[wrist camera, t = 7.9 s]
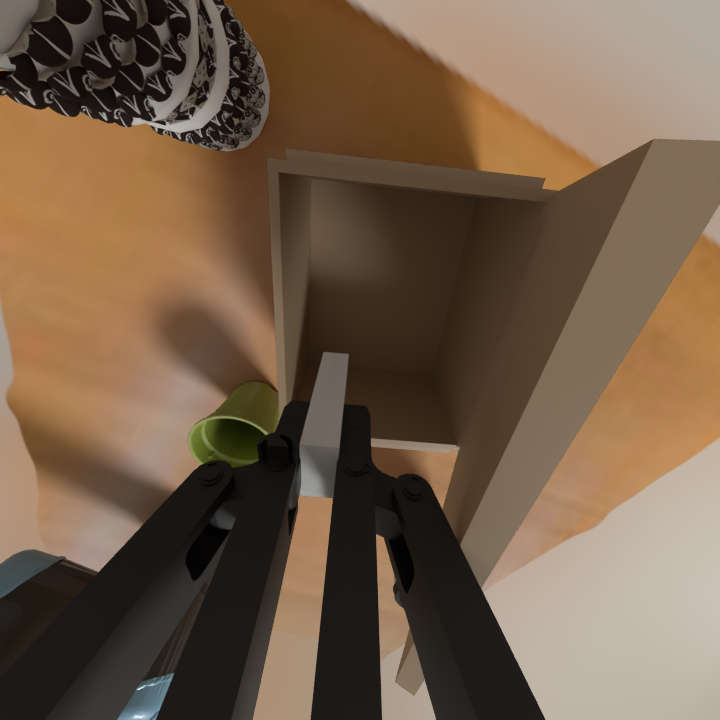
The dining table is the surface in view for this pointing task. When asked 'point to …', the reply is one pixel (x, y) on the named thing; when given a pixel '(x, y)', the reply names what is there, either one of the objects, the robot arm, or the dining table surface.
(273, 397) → the plant pot
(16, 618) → the robot arm
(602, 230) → the flap
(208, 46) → the decorative candle
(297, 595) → the dining table surface
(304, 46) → the dining table surface
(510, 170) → the dining table surface
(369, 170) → the carton
